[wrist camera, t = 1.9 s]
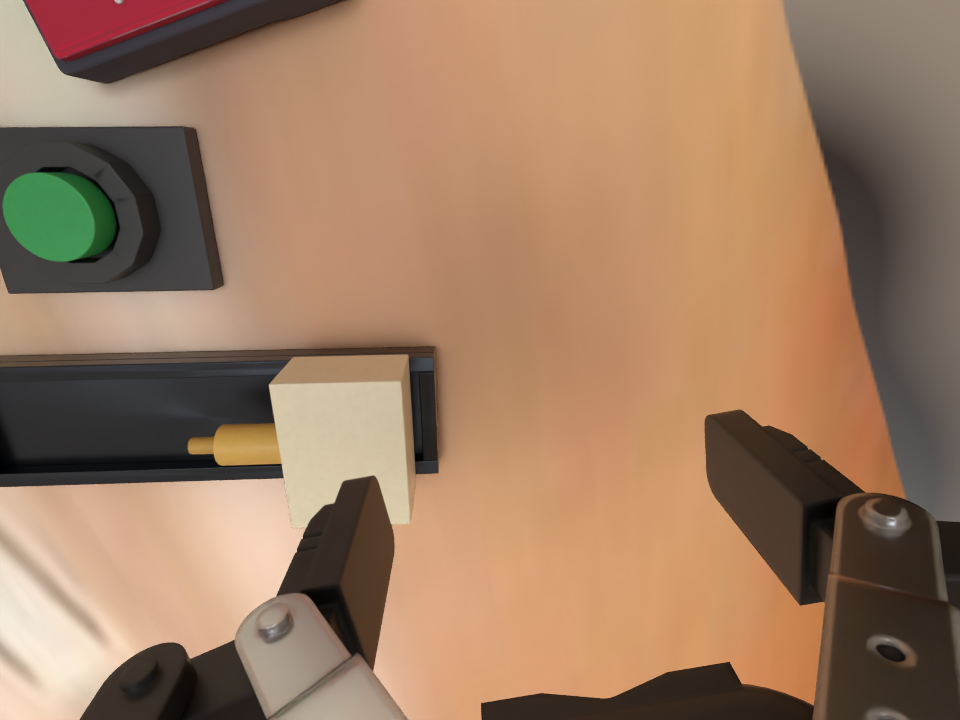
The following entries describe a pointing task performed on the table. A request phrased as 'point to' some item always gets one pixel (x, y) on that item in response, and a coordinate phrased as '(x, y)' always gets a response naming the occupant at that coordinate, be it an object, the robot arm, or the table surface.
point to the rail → (160, 413)
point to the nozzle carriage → (331, 432)
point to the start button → (59, 216)
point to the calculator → (146, 30)
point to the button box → (118, 209)
